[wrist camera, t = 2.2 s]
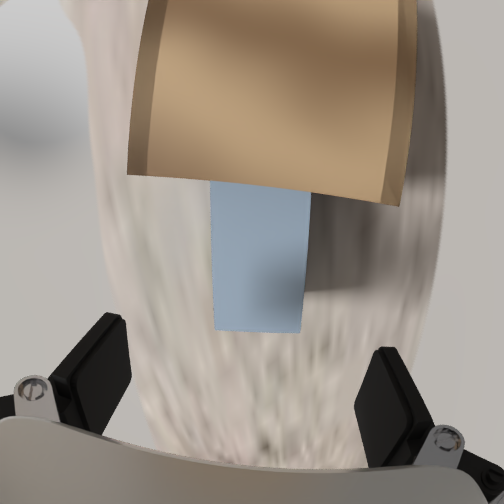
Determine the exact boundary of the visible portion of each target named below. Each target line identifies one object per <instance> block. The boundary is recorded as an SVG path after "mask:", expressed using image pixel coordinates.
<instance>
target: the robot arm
mask: <svg viewBox="0 0 504 504" xmlns="http://www.w3.org/2000/svg"><path fill="white" fill-rule="evenodd" d="M131 377H132V373H131V365H130V357H129V349H128V340H127V330H126V322H125V320H124V319H122V317H121V315H118V314H113V313H108V312H106V313H105V314H104V315H103V316H102V317H101V318H100V319H99V320H98V321H97V322H96V324H95V325H94V326H93V327H92V328H91V329H90V330H89V331H88V332H87V334H86V335H85V336H84V337H83V338H82V339H81V340H80V342H79V343H78V344H77V345H76V346H75V347H74V348H73V349H72V351H71V352H70V353H69V354H68V355H67V356H66V358H65V359H64V360H63V361H62V362H61V364H60V365H59V366H58V367H57V368H56V369H55V370H54V372H53V373H52V374H51V375H50V376H49V378H48V379H46V378H44V377H42V376H38V375H31V376H27V377H24V378H22V379H21V380H20V381H18V382H17V383H16V385H15V387H14V394H13V395H8V396H3V397H0V504H504V470H503V469H502V468H501V467H499V466H498V465H496V464H494V463H491V462H489V461H487V460H485V459H483V458H481V457H479V456H477V455H475V454H473V453H470V452H468V451H467V450H464V445H465V441H464V437H463V436H462V434H461V433H460V432H459V431H458V430H457V429H455V428H454V427H452V426H448V425H438V426H435V425H434V422H433V420H432V417H431V415H430V413H429V411H428V409H427V407H426V405H425V403H424V401H423V399H422V397H421V395H420V393H419V391H418V389H417V387H416V385H415V383H414V381H413V379H412V377H411V376H410V374H409V372H408V370H407V368H406V366H405V364H404V362H403V360H402V359H401V357H400V355H399V353H398V351H397V349H396V348H395V347H380V348H379V349H378V350H375V351H374V353H373V356H372V359H371V361H370V364H369V367H368V370H367V372H366V375H365V377H364V380H363V383H362V385H361V388H360V390H359V393H358V395H357V397H356V400H355V403H354V410H355V414H356V418H357V422H358V426H359V430H360V434H361V438H362V442H363V446H364V450H365V454H366V458H367V463H368V467H369V468H358V469H287V468H270V467H257V466H247V465H238V464H230V463H222V462H215V461H209V460H203V459H197V458H191V457H186V456H181V455H176V454H171V453H166V452H162V451H157V450H153V449H149V448H145V447H141V446H137V445H133V444H130V443H126V442H122V441H118V440H115V439H112V438H108V437H105V436H102V433H103V432H104V430H105V428H106V426H107V424H108V422H109V420H110V418H111V416H112V415H113V413H114V411H115V409H116V407H117V405H118V404H119V402H120V400H121V398H122V396H123V394H124V393H125V391H126V389H127V387H128V385H129V383H130V381H131Z"/></svg>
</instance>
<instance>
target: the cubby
mask: <svg viewBox="0 0 504 504" xmlns="http://www.w3.org/2000/svg"><path fill="white" fill-rule="evenodd" d="M416 63H417V1H416V0H149V1H148V6H147V10H146V15H145V20H144V25H143V30H142V36H141V42H140V48H139V54H138V60H137V67H136V74H135V82H134V90H133V99H132V108H131V119H130V131H129V145H128V162H127V175H142V176H158V177H173V178H186V179H198V180H209V181H220V182H230V183H240V184H249V185H258V186H267V187H275V188H283V189H291V190H298V191H306V192H313V193H320V194H326V195H333V196H340V197H346V198H352V199H358V200H364V201H370V202H376V203H382V204H387V205H393V206H398V207H399V205H400V200H401V195H402V189H403V184H404V178H405V172H406V165H407V159H408V151H409V144H410V136H411V128H412V118H413V108H414V96H415V82H416Z"/></svg>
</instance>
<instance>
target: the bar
mask: <svg viewBox="0 0 504 504" xmlns="http://www.w3.org/2000/svg"><path fill="white" fill-rule="evenodd" d="M210 200H211V247H212V277H213V302H214V323H215V330H223V331H243V332H269V333H300V329H301V319H302V309H303V299H304V288H305V276H306V264H307V251H308V237H309V222H310V205H311V192H306V191H298V190H291V189H283V188H275V187H267V186H258V185H249V184H240V183H230V182H220V181H210Z"/></svg>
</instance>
